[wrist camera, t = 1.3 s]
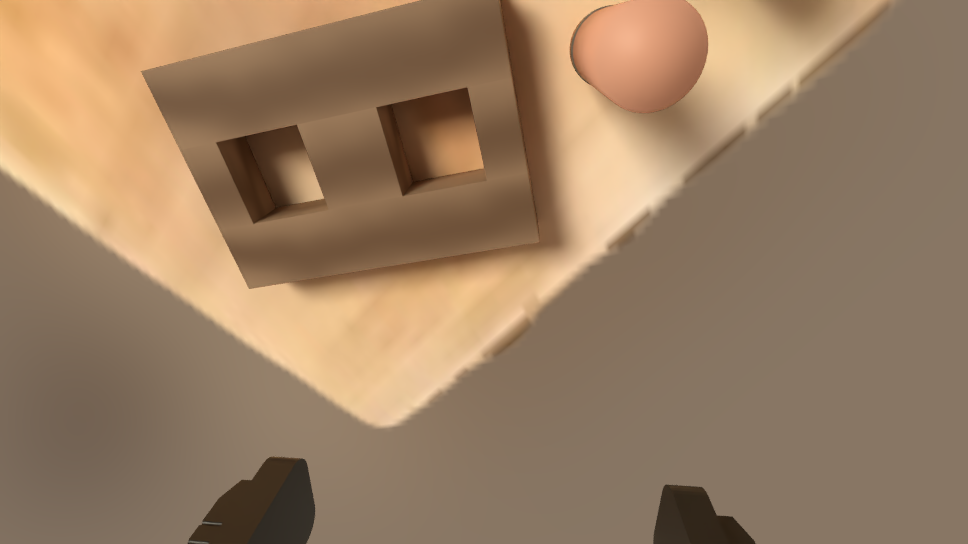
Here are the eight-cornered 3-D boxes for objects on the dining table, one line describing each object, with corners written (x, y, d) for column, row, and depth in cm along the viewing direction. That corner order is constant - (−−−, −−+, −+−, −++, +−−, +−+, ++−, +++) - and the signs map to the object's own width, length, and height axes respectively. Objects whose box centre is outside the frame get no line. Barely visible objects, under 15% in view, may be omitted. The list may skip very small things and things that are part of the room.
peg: (561, 17, 26) (589, 7, 15) (630, 0, 25) (710, -21, 14) (569, 87, 27) (600, 123, 17) (634, 73, 27) (709, 102, 16)
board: (176, 67, 28) (141, 71, 26) (498, -14, 25) (495, -19, 22) (270, 269, 34) (249, 288, 32) (537, 224, 31) (539, 242, 29)
